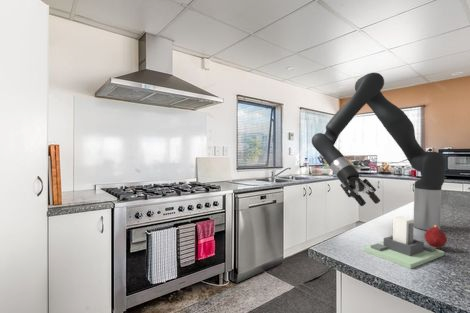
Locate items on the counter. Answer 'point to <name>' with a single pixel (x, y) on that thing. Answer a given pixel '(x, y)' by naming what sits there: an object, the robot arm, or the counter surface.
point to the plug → (403, 230)
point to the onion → (435, 237)
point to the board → (404, 252)
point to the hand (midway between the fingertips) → (371, 203)
